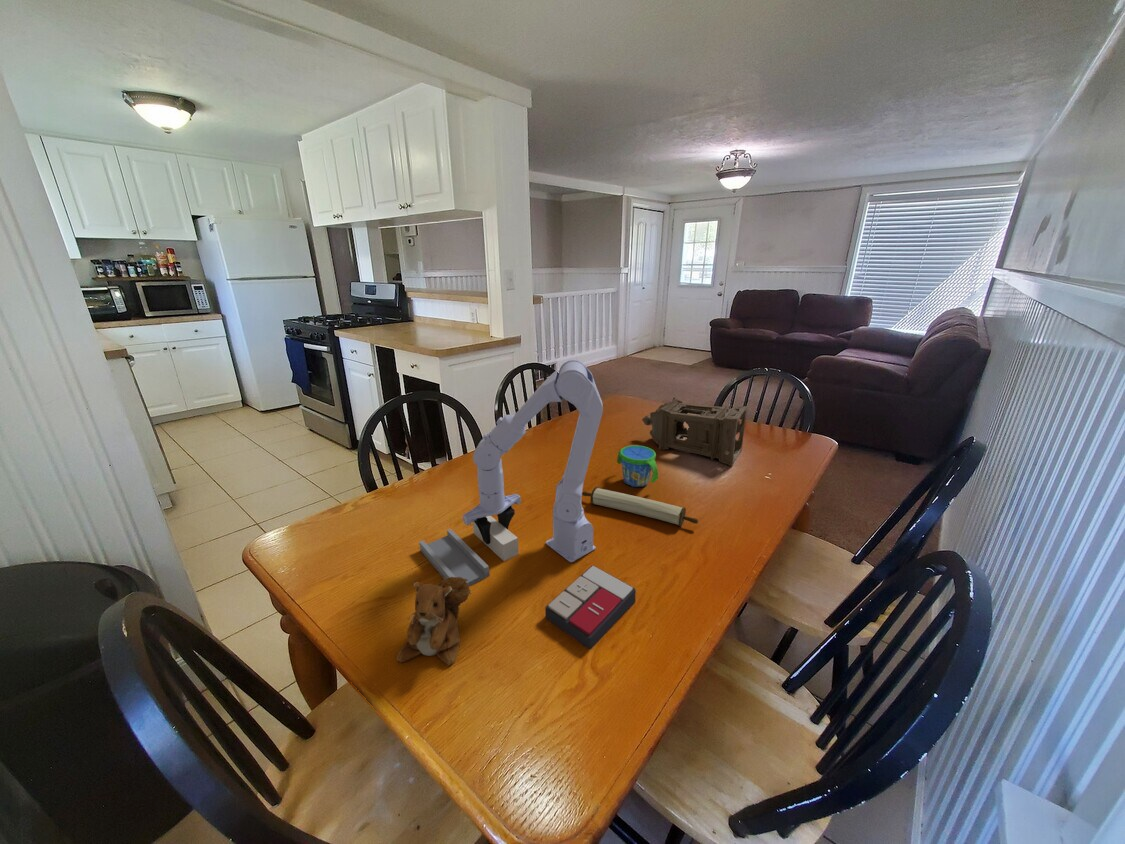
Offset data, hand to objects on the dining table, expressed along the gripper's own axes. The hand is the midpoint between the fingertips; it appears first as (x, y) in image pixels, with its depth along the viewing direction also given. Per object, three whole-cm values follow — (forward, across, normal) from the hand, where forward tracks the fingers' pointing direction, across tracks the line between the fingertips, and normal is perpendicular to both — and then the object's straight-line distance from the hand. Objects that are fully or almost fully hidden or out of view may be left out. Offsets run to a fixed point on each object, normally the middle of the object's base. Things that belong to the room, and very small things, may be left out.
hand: (495, 538), depth 103 cm
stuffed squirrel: (+2, +22, +17) cm, 28 cm away
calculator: (+2, -3, +30) cm, 30 cm away
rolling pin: (+2, -36, +14) cm, 38 cm away
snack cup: (+2, -49, +2) cm, 49 cm away
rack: (+1, +11, 0) cm, 11 cm away
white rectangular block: (+1, 0, 0) cm, 1 cm away
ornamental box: (+2, -83, -3) cm, 83 cm away
